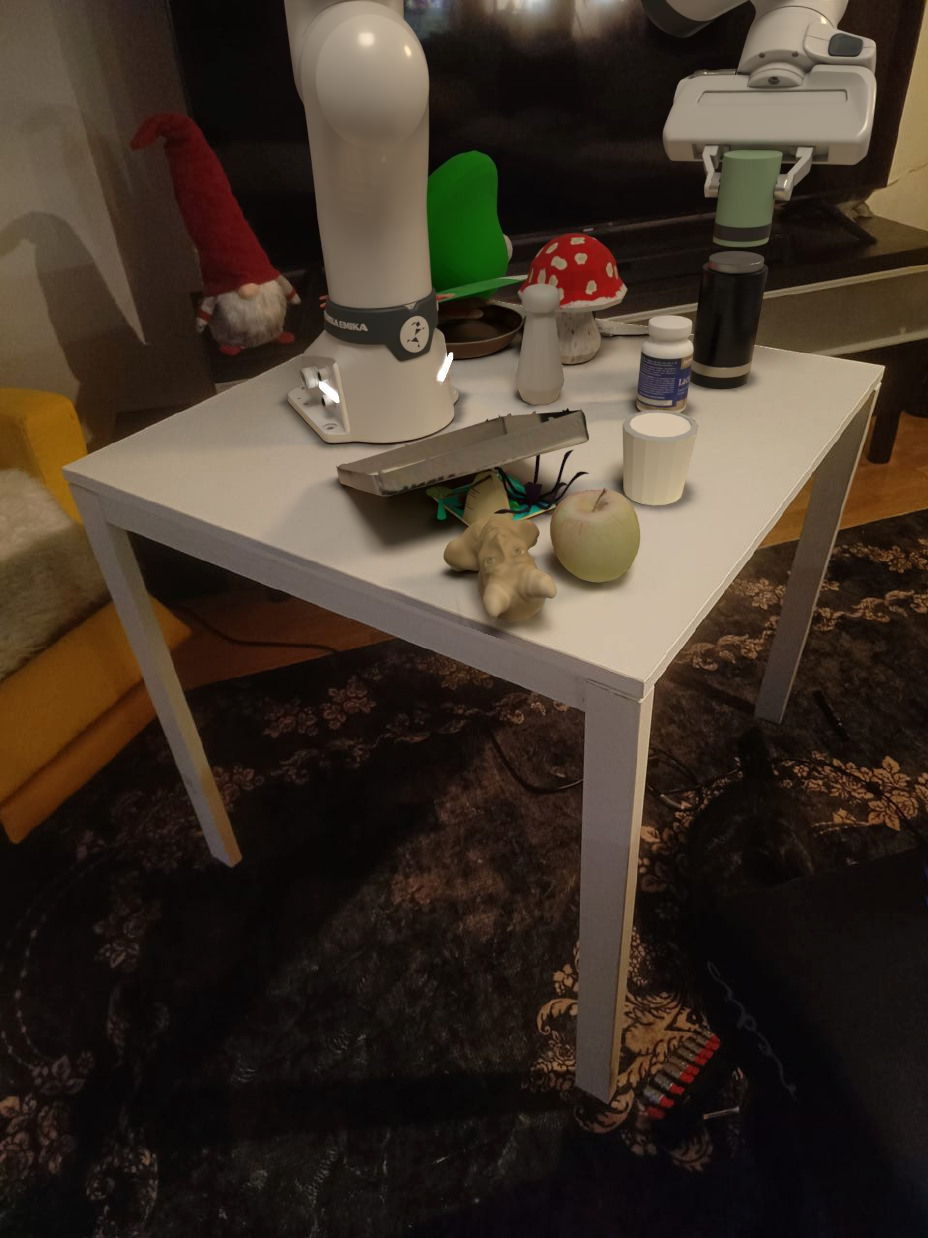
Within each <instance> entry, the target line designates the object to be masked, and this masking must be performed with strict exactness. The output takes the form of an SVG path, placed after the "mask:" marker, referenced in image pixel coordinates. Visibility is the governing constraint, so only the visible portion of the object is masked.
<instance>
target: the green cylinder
mask: <svg viewBox="0 0 928 1238" xmlns="http://www.w3.org/2000/svg"><path fill="white" fill-rule="evenodd" d="M782 156H783V153H782V152H780V151H776V150H768V149H744V150H735V151H730V152H727V153H725V154H724V156H723V162H722V163H721V164H722V165H721V172H720V173H721V180H720V188H719V195H718V198H717V203H716V204H717V205H716V212H715V220H714V224H713V230H712V231H713V232H712V242H713V243H715V244H717V245H720V246H724V247H730V248H731V247H732V248H751V247H752V248H753V247H757V246H758V247H759V246H762V245H766V244H767V243H768V242H769V239H770V235H771V229H772V223H773V215H774V209H775V203H776V200H774V189H775V185H776V184H777V179H778V176H779V174H781V166H782V163H781V162H782Z"/></svg>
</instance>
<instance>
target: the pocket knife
mask: <svg viewBox="0 0 928 1238" xmlns="http://www.w3.org/2000/svg"><path fill="white" fill-rule="evenodd" d="M597 327H598V329H599V332H600V336H605V337H609V338H611V337H613V336H615V335H645V334H647V335H648V334H649V333H648V332H647V330H648V329H644V328H643V329H640V328H639V329H638V328H626V327H625V328H624V327H615V326H597Z"/></svg>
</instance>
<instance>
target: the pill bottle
mask: <svg viewBox="0 0 928 1238" xmlns="http://www.w3.org/2000/svg"><path fill="white" fill-rule="evenodd" d="M647 323H648V324H647V329H646V330H647V332H648V333H647V334H648V335H649V337H648V338H647V339H645V340H644V341H643V343H642V345H641V350H640V359H639V370H638V380H637V390H636V400H635V404H636V408H637V409H638V410H639V412H642V411H648V410H666V411H674V412H678V413H681V414H682V412H683V411H684V410H685V409H686V407H687V403H688V402H687V401H688V397H689V396H688V395H689V386H690V381H691V380H690V373H691V366H692V359H693V342H692V341H691V340H690V339H689V337H690V335H692V331H693V321H692V320H691V319H690V318H687V317H685V316H680V315H673V314H672V315H671V314H670V315H668V314H667V315H657V316H654V317H651V318H650V319H649V320H648V322H647Z"/></svg>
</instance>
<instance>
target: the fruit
mask: <svg viewBox="0 0 928 1238" xmlns="http://www.w3.org/2000/svg"><path fill="white" fill-rule="evenodd" d="M549 536H550V540H551V545H552V549H553V551H554V553H555V555H556V557H557V559H558V560H559V562H560V564H561V565H562V566H563V568H565V570H567V571H568V572H569V573H571V574H572V575H573V576H575V577H577V578H578V579H580V580H583V581H587V582H589V583H590V582H591V583H604V582H609V581H613V580H616V579H618V578H619V577H621V576H622V575H623V574H625V573H626V572H627V571H628V570H629V569H630V567H632V565H633V563H634V562H635V559H636V558H637V555H638V552H639V549H640V544H641V527H640V523H639V518H638V514H637V512H636V510H635V507H634V506H633V504H632V503H631V502H630V499H629V498H628V497H627V496H624V495H623V494H621V493H619V492H617V491H614V490H610V489H607V488H606V487H603V489H587V490H586V489H585V490H580V491H575V492H573V493H570V494H569V495H568V496H565V497H564V498H563V499H561V500H560V502H559V503H558V504H557V505H556V507H555V509H554V510H553V513H552V516H551V518H550V524H549Z"/></svg>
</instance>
